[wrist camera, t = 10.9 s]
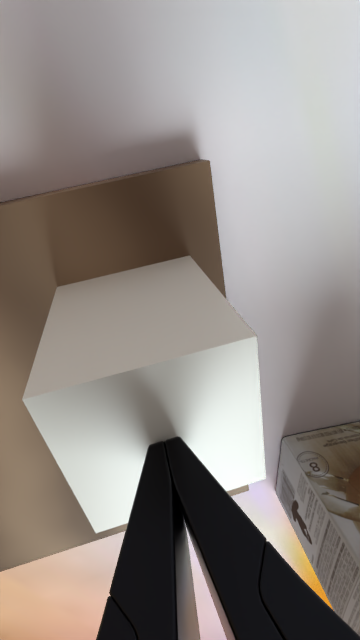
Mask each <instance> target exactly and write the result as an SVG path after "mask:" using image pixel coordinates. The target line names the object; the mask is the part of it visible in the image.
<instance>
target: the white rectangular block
mask: <svg viewBox="0 0 360 640" xmlns="http://www.w3.org/2000/svg"><path fill="white" fill-rule="evenodd" d="M22 400H23V402H24V404H25V406H26V407H27V409H28V411H29V413H30V415H31V416H32V418H33V420H34V422H35V424H36V426H37V427H38V429H39V431H40V433H41V435H42V436H43V438H44V440H45V442H46V444H47V446H48V447H49V449H50V451H51V453H52V455H53V456H54V458H55V460H56V462H57V464H58V466H59V467H60V469H61V471H62V473H63V475H64V476H65V478H66V480H67V482H68V484H69V485H70V487H71V489H72V491H73V493H74V495H75V496H76V498H77V500H78V502H79V504H80V505H81V507H82V509H83V511H84V513H85V515H86V516H87V518H88V520H89V522H90V524H91V525H92V527H93V529H94V531H95V533H99V532H102V531H105V530H108V529H111V528H114V527H117V526H120V525H123V524H127V523H128V521H129V517H130V513H131V509H132V506H133V502H134V498H135V494H136V491H137V487H138V483H139V479H140V476H141V472H142V468H143V464H144V461H145V457H146V453H147V449H148V447H149V445H150V444H153V443H156V442H160V441H163V442H164V443H165V441H166V440H167V439H170V438H173V437H176V436H179V437H181V438H182V440H183V441H184V442H185V443H186V444H187V445H188V447H189V448H190V449H191V450H192V451H193V453H194V454H195V455H196V456H197V457H198V458H199V460H200V461H201V462H202V463H203V464H204V466H205V467H206V468H207V469H208V470H209V471H210V473H211V474H212V475H213V476H214V477H215V479H216V480H217V481H218V482H219V483H220V485H221V486H222V487H223V488H224V489H225V490H226V491H229V490H233V489H236V488H239V487H242V486H245V485H248V484H251V483H254V482H257V481H261V480H264V479H266V471H265V455H264V439H263V424H262V408H261V392H260V377H259V361H258V345H257V335H256V334H255V333H254V332H253V331H252V329H251V328H250V327H249V326H248V325H247V323H246V322H245V321H244V320H243V319H242V317H241V316H240V315H239V314H238V313H237V311H236V310H235V309H234V308H233V307H232V305H231V304H230V303H229V302H228V301H227V299H226V298H225V297H224V296H223V295H222V293H221V292H220V291H219V290H218V289H217V288H216V286H215V285H214V284H213V283H212V282H211V280H210V279H209V278H208V277H207V276H206V274H205V273H204V272H203V271H202V270H201V268H200V267H199V266H198V265H197V264H196V262H195V261H194V260H193V259H192V258H191V256H190V255H189V256H185V257H181V258H177V259H173V260H168V261H164V262H160V263H156V264H152V265H147V266H143V267H139V268H135V269H131V270H127V271H122V272H118V273H114V274H110V275H106V276H101V277H97V278H93V279H89V280H85V281H80V282H76V283H72V284H68V285H64V286H59V287H57V289H56V292H55V295H54V298H53V302H52V305H51V308H50V311H49V314H48V318H47V321H46V324H45V327H44V331H43V334H42V337H41V340H40V344H39V347H38V350H37V353H36V357H35V360H34V363H33V366H32V369H31V373H30V376H29V379H28V382H27V386H26V389H25V392H24V395H23V399H22Z"/></svg>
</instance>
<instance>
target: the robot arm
mask: <svg viewBox="0 0 360 640" xmlns="http://www.w3.org/2000/svg"><path fill="white" fill-rule="evenodd" d="M184 520H185V521H184ZM185 523H186V525H185ZM186 527H187V530H188V533H189V536H190V539H191V541H192V544H193V547H194V550H195V552H196V555H197V558H198V561H199V563H200V566H201V569H202V572H203V574H204V577H205V580H206V583H207V585H208V588H209V591H210V594H211V596H212V599H213V602H214V605H215V607H216V610H217V613H218V616H219V618H220V621H221V624H222V627H223V629H224V632H225V635H226V638H227V640H360V636H359V635H358V634H357V633H356V632H355V631H354V630H353V629H352V628H351V627H350V626H349V625H348V624H347V623H346V622H345V621H344V620H343V619H342V618H341V617H340V616H339V615H337V614H336V613H335V612H334V611H333V610H332V609H331V608H330V607H329V606H328V605H327V604H326V603H325V602H324V601H323V600H322V599H321V598H320V597H319V596H318V595H317V594H316V593H315V592H314V591H313V590H312V589H311V588H310V587H309V586H308V585H307V584H306V583H305V582H304V581H303V580H302V579H301V578H300V577H299V575H298V574H297V573H296V572H295V571H294V570H293V569H292V568H291V566H290V565H289V564H288V563H287V562H286V561H285V560H284V559H283V558H282V556H281V555H280V554H279V553H278V552H277V551H276V549H275V548H274V547H273V546H272V545H271V543H270V542H267V541H266V538H265V537H264V535H263V534H262V533H261V532H260V531H259V529H258V528H257V527H256V526H255V525H254V524H253V522H252V521H251V520H250V519H249V518H248V516H247V515H246V514H245V513H244V512H243V511H242V509H241V508H240V507H239V506H238V505H237V503H236V502H235V501H234V500H233V499H232V498H231V496H230V495H229V494H228V493H227V492H226V490H225V489H224V488H223V487H222V486H221V485H220V483H219V482H218V481H217V480H216V479H215V477H214V476H213V475H212V474H211V473H210V471H209V470H208V469H207V468H206V467H205V466H204V464H203V463H202V462H201V461H200V460H199V458H198V457H197V456H196V455H195V454H194V453H193V451H192V450H191V449H190V448H189V447H188V445H187V444H186V443H185V442H184V441H183V440H182V438H181V437H179V436H176V437H173V438H170V439H167V440H166V441H165V443H164V442H163V441H160V442H156V443H153V444H150V445H149V447H148V449H147V453H146V457H145V461H144V464H143V468H142V472H141V476H140V479H139V483H138V487H137V491H136V494H135V498H134V502H133V506H132V509H131V513H130V517H129V521H128V524H127V528H126V532H125V536H124V539H123V543H122V547H121V551H120V554H119V558H118V562H117V566H116V569H115V573H114V577H113V580H112V584H111V588H110V592H109V593H110V595H111V596H109V597H108V599H107V602H106V606H105V610H104V614H103V617H102V621H101V624H100V628H99V631H98V635H97V638H96V640H200V633H199V625H198V617H197V609H196V601H195V593H194V585H193V577H192V569H191V562H190V554H189V546H188V538H187V531H186Z"/></svg>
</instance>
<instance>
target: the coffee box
mask: <svg viewBox="0 0 360 640" xmlns="http://www.w3.org/2000/svg"><path fill="white" fill-rule="evenodd" d="M276 495H277V497H278V499H279V501H280V503H281V505H282V507H283V509H284V511H285V512H286V515H287V517H288V519H289V521H290V523H291V525H292V527H293V529H294V531H295V533H296V535H297V537H298V539H299V541H300V543H301V545H302V547H303V549H304V551H305V553H306V555H307V557H308V559H309V561H310V563H311V565H312V567H313V569H314V571H315V574H316V575H317V577H318V579H319V581H320V584H321V585H322V587H323V589H324V591H325V593H326V596H327V598H328V600H329V602H330V604H331V605H332V607H333V610H334V612H335V613H336V614H337V615H339V616H340V617H341V618H342V619H343V620H344V621H345V622H346V623H347V624H348V625H349V626H350V627H351V628H352V629H353V630H354V631H355V632H356V633H357V634H358V635H359V636H360V422H355V423H350V424H346V425H341V426H336V427H331V428H326V429H321V430H316V431H311V432H306V433H301V434H296V435H291V436H287V437H284V438H283V439H282V444H281V453H280V461H279V469H278V478H277V486H276Z"/></svg>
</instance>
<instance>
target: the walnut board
mask: <svg viewBox="0 0 360 640" xmlns="http://www.w3.org/2000/svg"><path fill="white" fill-rule="evenodd" d="M189 255H190V256H191V258H192V259H193V260H194V261H195V262H196V264H197V265H198V266H199V267H200V268H201V270H202V271H203V272H204V273H205V274H206V276H207V277H208V278H209V279H210V280H211V282H212V283H213V284H214V285H215V286H216V288H217V289H218V290H219V291H220V292H221V293H222V295H223V296H224V297H225V298H226V294H225V286H224V277H223V269H222V260H221V252H220V244H219V235H218V227H217V218H216V210H215V202H214V193H213V185H212V176H211V168H210V161H209V160H196V161H192V162H187V163H182V164H178V165H173V166H168V167H164V168H159V169H155V170H150V171H145V172H141V173H136V174H131V175H127V176H122V177H117V178H113V179H108V180H103V181H99V182H94V183H89V184H85V185H80V186H75V187H71V188H66V189H62V190H57V191H52V192H48V193H43V194H38V195H34V196H29V197H24V198H20V199H15V200H10V201H6V202H1V203H0V572H1V571H4V570H7V569H10V568H13V567H16V566H19V565H22V564H25V563H28V562H32V561H35V560H38V559H41V558H44V557H47V556H50V555H53V554H56V553H59V552H62V551H65V550H68V549H71V548H74V547H77V546H80V545H83V544H87V543H90V542H93V541H96V540H99V539H102V538H105V537H108V536H111V535H114V534H117V533H120V532H123V531H126V528H127V524H128V523H127V524H123V525H120V526H117V527H114V528H111V529H108V530H105V531H102V532H99V533H95V531H94V529H93V527H92V525H91V524H90V522H89V520H88V518H87V516H86V515H85V513H84V511H83V509H82V507H81V505H80V504H79V502H78V500H77V498H76V496H75V495H74V493H73V491H72V489H71V487H70V485H69V484H68V482H67V480H66V478H65V476H64V475H63V473H62V471H61V469H60V467H59V466H58V464H57V462H56V460H55V458H54V456H53V455H52V453H51V451H50V449H49V447H48V446H47V444H46V442H45V440H44V438H43V436H42V435H41V433H40V431H39V429H38V427H37V426H36V424H35V422H34V420H33V418H32V416H31V415H30V413H29V411H28V409H27V407H26V406H25V404H24V402H23V400H22V399H23V395H24V392H25V389H26V386H27V382H28V379H29V376H30V373H31V369H32V366H33V363H34V360H35V357H36V353H37V350H38V347H39V344H40V340H41V337H42V334H43V331H44V327H45V324H46V321H47V318H48V314H49V311H50V308H51V305H52V302H53V298H54V295H55V292H56V289H57V287H59V286H64V285H68V284H72V283H76V282H80V281H85V280H89V279H93V278H97V277H101V276H106V275H110V274H114V273H118V272H122V271H127V270H131V269H135V268H139V267H143V266H147V265H152V264H156V263H160V262H164V261H168V260H173V259H177V258H181V257H185V256H189ZM248 490H249V487H248V485H245V486H242V487H239V488H236V489H233V490H229V491H226V492H227V493H228V494H229V495H230V496H233V495H236V494H239V493H242V492H245V491H248Z"/></svg>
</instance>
